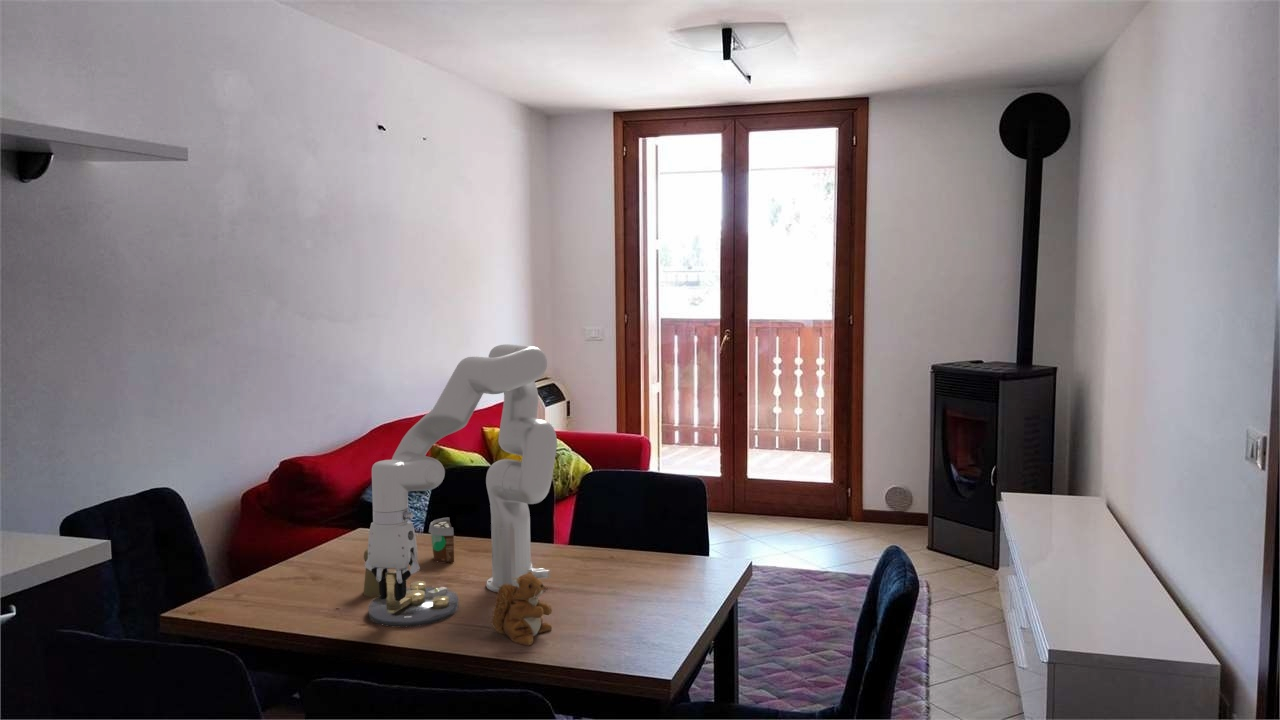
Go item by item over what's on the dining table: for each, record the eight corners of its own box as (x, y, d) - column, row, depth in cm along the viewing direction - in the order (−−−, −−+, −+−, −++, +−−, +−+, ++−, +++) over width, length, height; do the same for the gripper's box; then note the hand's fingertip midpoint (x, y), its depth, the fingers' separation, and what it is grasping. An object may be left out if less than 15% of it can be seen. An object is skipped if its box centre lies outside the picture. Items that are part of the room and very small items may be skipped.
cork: (381, 597, 213) (379, 552, 212) (358, 595, 214) (356, 551, 213) (393, 588, 219) (391, 545, 218) (370, 587, 220) (369, 544, 219)
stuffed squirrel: (532, 647, 182) (530, 585, 181) (478, 635, 189) (476, 575, 188) (559, 631, 191) (558, 571, 190) (507, 619, 198) (506, 562, 197)
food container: (428, 553, 248) (426, 518, 247) (450, 551, 250) (449, 516, 249) (431, 566, 236) (430, 530, 235) (454, 564, 238) (453, 527, 237)
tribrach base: (461, 593, 215) (461, 578, 215) (454, 624, 195) (453, 607, 195) (377, 597, 213) (376, 582, 212) (361, 629, 193) (360, 612, 193)
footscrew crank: (410, 596, 207) (409, 557, 206) (429, 598, 205) (428, 559, 205) (380, 614, 196) (378, 573, 195) (399, 617, 194) (398, 575, 193)
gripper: (432, 514, 196) (434, 595, 197) (367, 510, 200) (369, 589, 202) (415, 523, 189) (417, 607, 190) (348, 518, 193) (350, 600, 194)
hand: (392, 597), depth 196 cm, fingers closed on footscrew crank, 3 cm apart
